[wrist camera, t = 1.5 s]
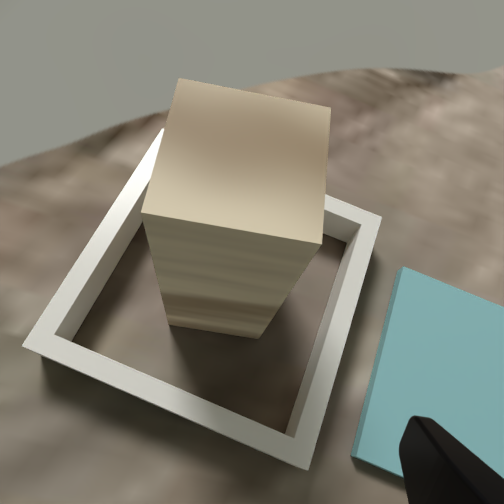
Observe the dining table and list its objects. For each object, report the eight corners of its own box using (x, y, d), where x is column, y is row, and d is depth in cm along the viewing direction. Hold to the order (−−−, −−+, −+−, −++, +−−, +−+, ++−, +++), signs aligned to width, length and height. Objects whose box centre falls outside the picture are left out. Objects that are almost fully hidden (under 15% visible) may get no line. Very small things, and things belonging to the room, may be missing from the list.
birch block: (258, 339, 23) (321, 244, 11) (168, 324, 22) (140, 212, 11) (269, 257, 25) (331, 107, 13) (186, 243, 24) (178, 78, 13)
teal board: (557, 545, 20) (571, 549, 20) (350, 455, 21) (356, 456, 20) (567, 340, 25) (578, 337, 24) (397, 271, 25) (403, 266, 25)
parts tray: (295, 466, 20) (308, 470, 18) (40, 355, 21) (21, 345, 19) (365, 235, 26) (382, 217, 24) (165, 154, 27) (162, 128, 24)
